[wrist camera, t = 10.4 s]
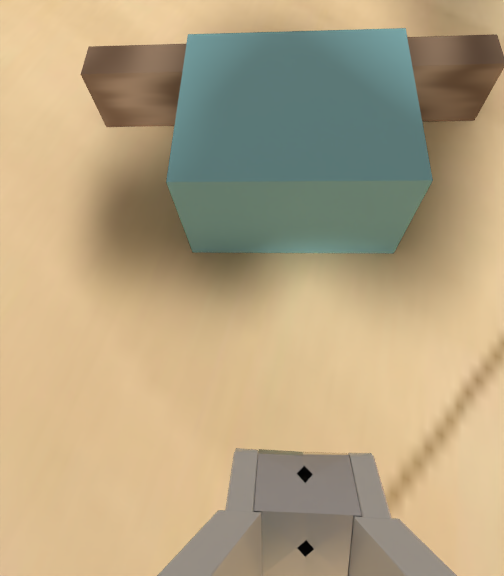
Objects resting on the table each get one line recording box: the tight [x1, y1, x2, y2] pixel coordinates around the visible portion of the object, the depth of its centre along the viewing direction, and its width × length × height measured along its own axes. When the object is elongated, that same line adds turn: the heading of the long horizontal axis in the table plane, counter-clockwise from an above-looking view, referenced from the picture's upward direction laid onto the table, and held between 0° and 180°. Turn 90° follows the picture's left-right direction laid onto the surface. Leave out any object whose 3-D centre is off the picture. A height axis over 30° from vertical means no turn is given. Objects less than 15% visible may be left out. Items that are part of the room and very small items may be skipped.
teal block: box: [166, 28, 433, 253], centre depth 28 cm, size 14×12×8 cm
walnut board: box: [81, 35, 504, 127], centre depth 32 cm, size 30×3×5 cm, turn 88°
